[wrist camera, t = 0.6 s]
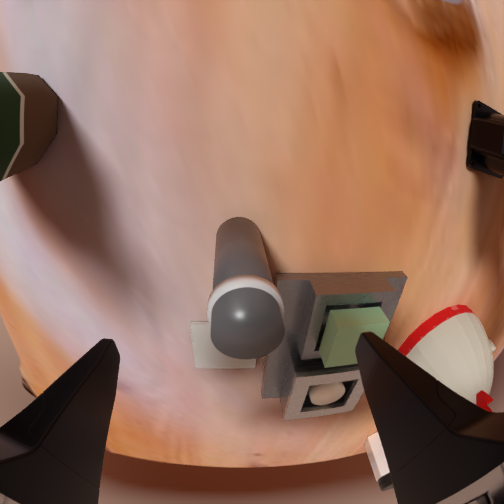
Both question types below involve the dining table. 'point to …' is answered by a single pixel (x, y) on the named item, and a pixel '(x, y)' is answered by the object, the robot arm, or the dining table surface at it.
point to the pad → (212, 351)
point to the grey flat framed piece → (321, 336)
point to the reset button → (326, 393)
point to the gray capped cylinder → (243, 294)
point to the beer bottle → (24, 121)
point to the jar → (378, 461)
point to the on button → (349, 333)
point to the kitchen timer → (455, 353)
